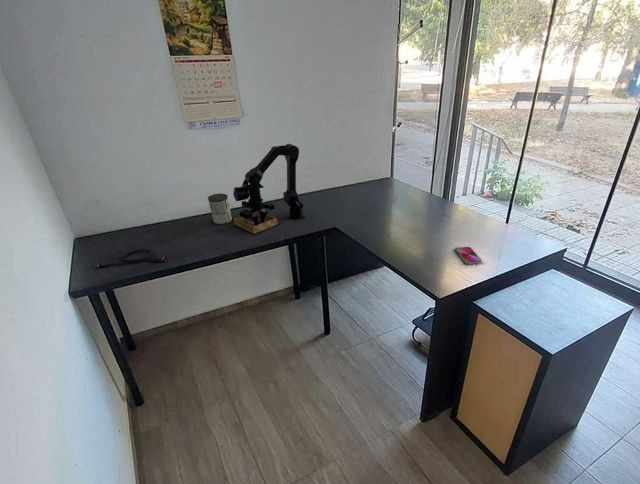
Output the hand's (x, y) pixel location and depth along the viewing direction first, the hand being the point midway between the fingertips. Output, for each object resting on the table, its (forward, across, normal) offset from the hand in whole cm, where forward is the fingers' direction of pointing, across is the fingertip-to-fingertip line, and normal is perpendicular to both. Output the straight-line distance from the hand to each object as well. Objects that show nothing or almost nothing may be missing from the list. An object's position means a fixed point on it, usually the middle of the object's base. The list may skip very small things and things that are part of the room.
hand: (259, 225), depth 207 cm
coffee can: (+1, +8, -23) cm, 24 cm away
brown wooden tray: (+1, 0, -3) cm, 3 cm away
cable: (+1, +60, -16) cm, 62 cm away
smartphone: (+1, -41, +101) cm, 109 cm away
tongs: (0, 0, -4) cm, 4 cm away
